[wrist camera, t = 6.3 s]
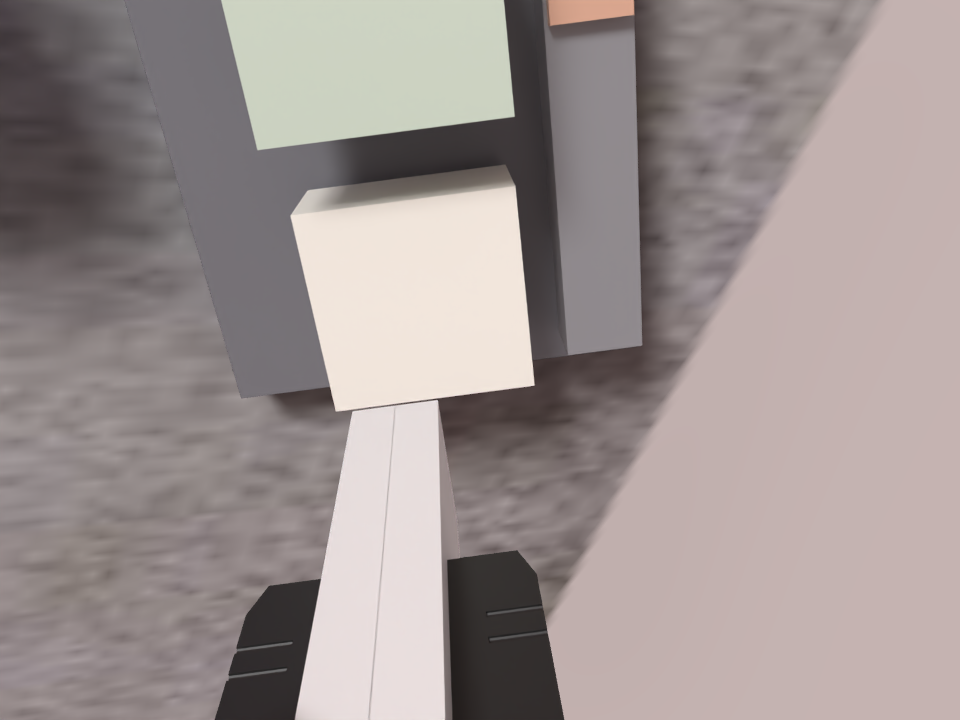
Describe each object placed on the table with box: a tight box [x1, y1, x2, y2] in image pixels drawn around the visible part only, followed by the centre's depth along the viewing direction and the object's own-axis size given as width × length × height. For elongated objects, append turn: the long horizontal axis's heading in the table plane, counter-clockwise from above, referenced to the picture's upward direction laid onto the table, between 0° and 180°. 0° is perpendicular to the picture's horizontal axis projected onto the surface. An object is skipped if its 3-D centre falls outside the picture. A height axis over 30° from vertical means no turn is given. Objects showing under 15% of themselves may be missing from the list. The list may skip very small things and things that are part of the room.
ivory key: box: [290, 165, 535, 411], centre depth 22 cm, size 6×6×3 cm
